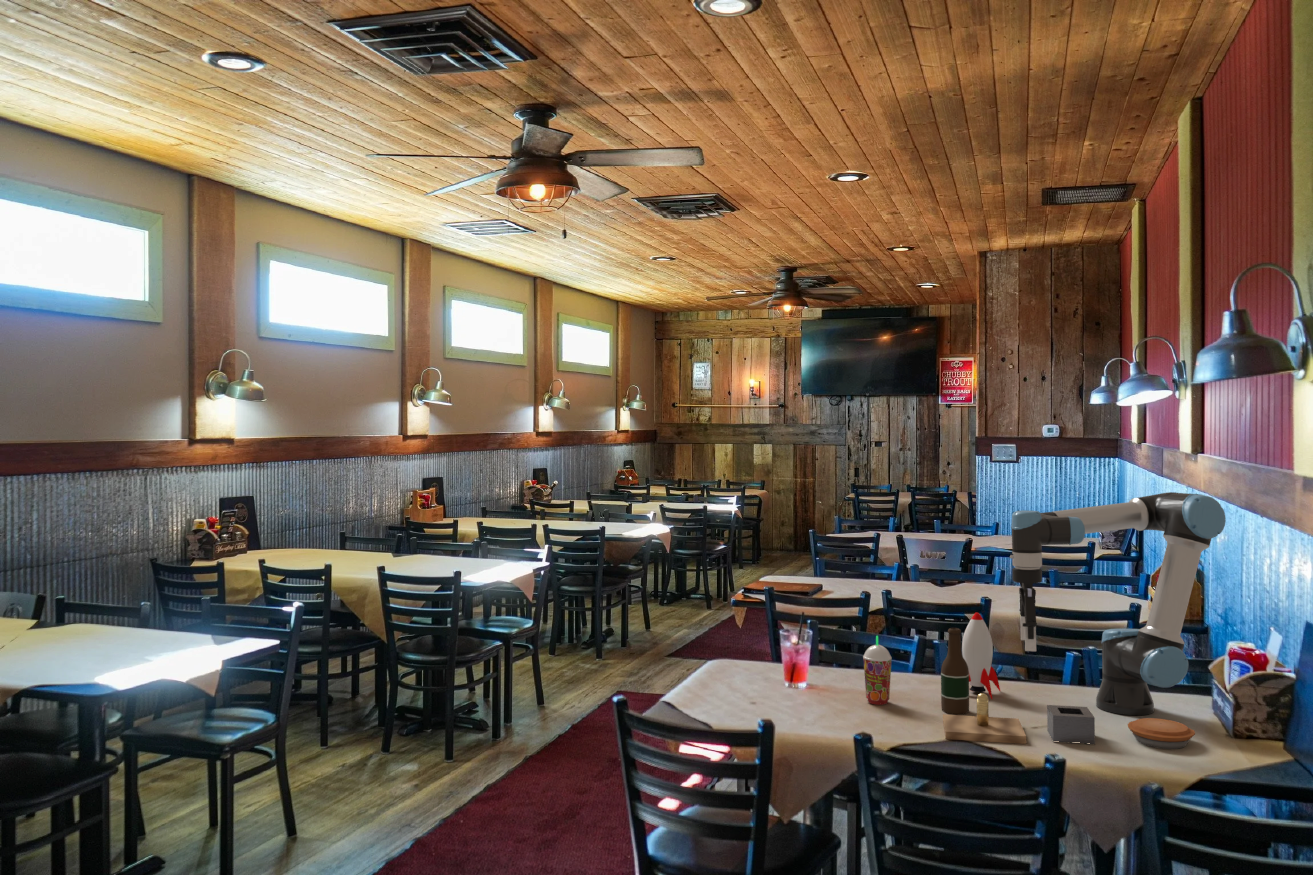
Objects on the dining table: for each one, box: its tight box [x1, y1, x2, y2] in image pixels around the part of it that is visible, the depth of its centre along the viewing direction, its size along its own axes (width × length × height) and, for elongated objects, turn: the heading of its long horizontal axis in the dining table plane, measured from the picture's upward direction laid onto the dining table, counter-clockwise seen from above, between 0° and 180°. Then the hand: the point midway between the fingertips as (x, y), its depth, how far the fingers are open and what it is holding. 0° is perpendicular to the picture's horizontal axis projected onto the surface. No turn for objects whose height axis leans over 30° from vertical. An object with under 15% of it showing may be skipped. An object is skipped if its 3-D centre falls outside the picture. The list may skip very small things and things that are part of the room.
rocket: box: [961, 612, 1001, 700], centre depth 299 cm, size 11×11×25 cm
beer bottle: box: [940, 627, 970, 715], centre depth 279 cm, size 8×8×24 cm
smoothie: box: [862, 635, 893, 706], centre depth 289 cm, size 8×8×20 cm
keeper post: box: [976, 692, 990, 727], centre depth 259 cm, size 3×3×8 cm
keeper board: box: [942, 713, 1027, 745], centre depth 259 cm, size 20×16×2 cm
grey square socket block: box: [1046, 704, 1096, 745], centre depth 254 cm, size 10×10×7 cm
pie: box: [1127, 717, 1196, 750], centre depth 250 cm, size 16×16×5 cm
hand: (1028, 645), depth 262 cm, fingers open, 13 cm apart
